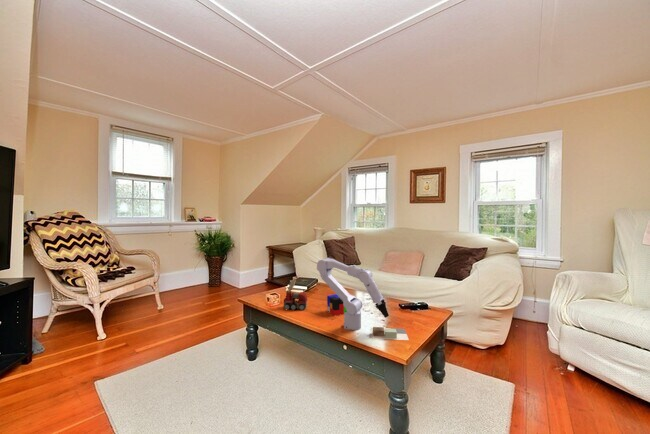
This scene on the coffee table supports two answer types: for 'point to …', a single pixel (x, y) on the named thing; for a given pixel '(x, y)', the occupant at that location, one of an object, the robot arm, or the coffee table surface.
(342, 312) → the puzzle toy
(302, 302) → the toy fire truck
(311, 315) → the coffee table surface
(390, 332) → the sage brick
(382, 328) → the walnut brick
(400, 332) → the board
